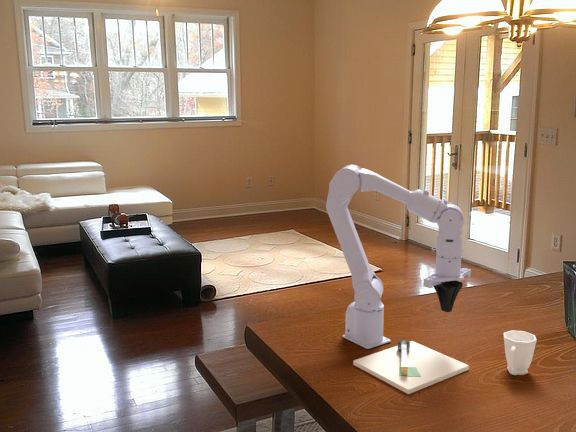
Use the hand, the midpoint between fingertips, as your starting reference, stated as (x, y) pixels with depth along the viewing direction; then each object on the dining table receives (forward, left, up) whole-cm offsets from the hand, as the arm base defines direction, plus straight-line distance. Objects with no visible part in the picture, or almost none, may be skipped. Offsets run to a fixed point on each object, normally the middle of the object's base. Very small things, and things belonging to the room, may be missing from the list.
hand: (446, 310), depth 139 cm
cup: (+18, +2, -10) cm, 20 cm away
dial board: (+2, -15, -9) cm, 17 cm away
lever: (+1, -15, -8) cm, 17 cm away
